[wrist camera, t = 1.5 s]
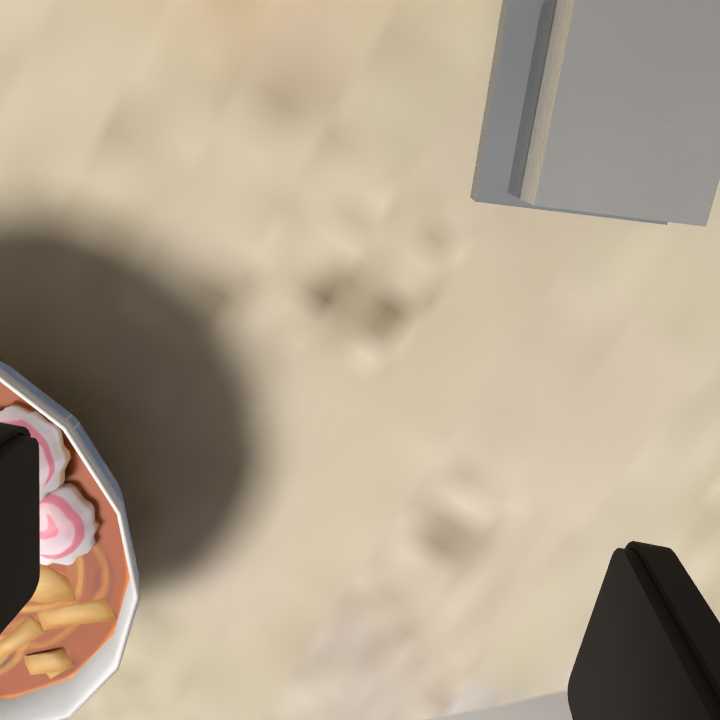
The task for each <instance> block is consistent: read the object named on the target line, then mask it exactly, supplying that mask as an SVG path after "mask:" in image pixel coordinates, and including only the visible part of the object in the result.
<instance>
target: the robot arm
mask: <svg viewBox="0 0 720 720" xmlns="http://www.w3.org/2000/svg"><path fill="white" fill-rule="evenodd" d="M39 579H40V484H39V443H38V441H37V439H36V438H33V437H31V434H30V432H29V430H28V429H27V428H26V427H23V426H18V425H13V424H7V423H2V422H0V634H1V633H2V632H3V631H4V629H5V628H6V627H7V626H8V625H9V624H10V622H11V621H12V620H13V619H14V618H15V617H16V615H17V614H18V613H19V612H20V611H21V610H22V609H23V607H24V606H25V605H26V604H27V603H28V602H29V600H30V599H31V598H32V596H33V595H34V593H35V591H36V588H37V586H38V583H39ZM568 702H569V706H570V710H571V714H572V718H573V720H720V623H719V621H718V620H717V618H716V616H715V615H714V613H713V612H712V610H711V609H710V607H709V606H708V604H707V602H706V601H705V599H704V598H703V596H702V595H701V593H700V592H699V590H698V588H697V587H696V585H695V584H694V582H693V581H692V579H691V578H690V576H689V575H688V573H687V571H686V570H685V568H684V567H683V565H682V564H681V562H680V561H679V559H678V557H677V556H676V554H675V553H674V552H673V551H672V550H671V549H670V548H667V547H662V546H657V545H651V544H646V543H641V542H635V541H632V542H629V543H628V545H627V546H626V547H625V549H622V548H617V549H616V550H615V551H614V553H613V555H612V557H611V560H610V563H609V566H608V569H607V572H606V575H605V578H604V580H603V583H602V586H601V589H600V592H599V595H598V598H597V601H596V603H595V606H594V609H593V612H592V615H591V618H590V621H589V624H588V626H587V629H586V632H585V635H584V638H583V641H582V644H581V647H580V649H579V652H578V655H577V658H576V661H575V664H574V667H573V670H572V672H571V675H570V679H569V683H568Z"/></svg>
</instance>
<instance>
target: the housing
mask: <svg viewBox="0 0 720 720" xmlns="http://www.w3.org/2000/svg"><path fill="white" fill-rule="evenodd" d="M719 179H720V0H546V1H545V2H544V3H543V4H542V6H541V11H540V16H539V21H538V27H537V32H536V38H535V43H534V49H533V54H532V60H531V65H530V71H529V76H528V82H527V87H526V93H525V98H524V104H523V109H522V115H521V120H520V126H519V131H518V137H517V142H516V148H515V153H514V159H513V164H512V170H511V175H510V181H509V186H508V192H507V193H508V194H511V195H513V196H515V197H517V198H519V199H521V200H523V201H525V202H528V203H530V204H532V205H534V206H542V207H550V208H558V209H566V210H575V211H583V212H591V213H599V214H608V215H616V216H624V217H633V218H641V219H649V220H657V221H666V222H674V223H682V224H690V225H699V226H706V224H707V221H708V217H709V214H710V210H711V207H712V203H713V200H714V196H715V193H716V189H717V186H718V182H719Z"/></svg>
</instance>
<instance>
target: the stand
mask: <svg viewBox="0 0 720 720" xmlns="http://www.w3.org/2000/svg"><path fill="white" fill-rule="evenodd" d="M545 1H546V0H503V3H502V9H501V15H500V21H499V27H498V33H497V39H496V45H495V51H494V57H493V63H492V70H491V76H490V82H489V88H488V94H487V100H486V106H485V112H484V118H483V124H482V131H481V137H480V143H479V149H478V155H477V161H476V167H475V173H474V179H473V185H472V191H471V198H472V199H473V200H474V201H475V202H483V203H492V204H500V205H508V206H516V207H525V208H533V209H541V210H549V211H558V212H566V213H574V214H582V215H591V216H599V217H607V218H615V219H624V220H632V221H640V222H648V223H657V224H665V225H667V222H666V221H657V220H649V219H641V218H633V217H624V216H616V215H608V214H599V213H591V212H583V211H575V210H566V209H558V208H550V207H542V206H534V205H532V204H530V203H528V202H525V201H523V200H521V199H519V198H517V197H515V196H513V195H511V194H508V193H507V192H508V186H509V181H510V175H511V170H512V164H513V159H514V153H515V148H516V142H517V137H518V131H519V126H520V120H521V115H522V109H523V104H524V98H525V93H526V87H527V82H528V76H529V71H530V65H531V60H532V54H533V49H534V43H535V38H536V32H537V27H538V21H539V16H540V11H541V6H542V4H543V3H544V2H545Z"/></svg>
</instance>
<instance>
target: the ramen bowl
mask: <svg viewBox="0 0 720 720" xmlns="http://www.w3.org/2000/svg"><path fill="white" fill-rule="evenodd" d="M0 422H2V423H7V424H13V425H18V426H23V427H26V428H27V429H28V430H29V432H30V434H31V437H33V438H36V439H37V441H38V443H39V484H40V579H39V583H38V586H37V588H36V591H35V593H34V595H33V596H32V598H31V599H30V600H29V602H28V603H27V604H26V605H25V606H24V607H23V609H22V610H21V611H20V612H19V613H18V614H17V615H16V617H15V618H14V619H13V620H12V621H11V622H10V624H9V625H8V626H7V627H6V628H5V629H4V631H3V632H2V633H1V634H0V720H65V719H68V718H70V717H71V716H72V715H73V714H74V713H75V712H76V711H77V710H78V709H79V708H80V707H81V706H82V705H83V704H84V703H85V702H86V701H87V700H88V699H89V698H90V697H91V696H92V695H93V694H94V693H95V692H96V691H97V690H98V689H99V688H100V687H101V686H102V685H103V684H104V683H105V682H106V681H107V680H108V679H109V678H110V677H111V676H112V675H113V674H114V673H115V672H116V671H117V670H118V669H119V666H120V663H121V659H122V656H123V653H124V649H125V646H126V643H127V639H128V636H129V633H130V629H131V626H132V623H133V619H134V616H135V612H136V609H137V606H138V602H139V599H140V593H139V573H138V568H137V563H136V558H135V553H134V548H133V543H132V538H131V533H130V528H129V523H128V518H127V514H126V509H125V504H124V499H123V495H122V492H121V489H120V487H119V484H118V482H117V481H116V479H115V478H114V476H113V475H112V473H111V471H110V470H109V468H108V467H107V465H106V463H105V462H104V460H103V459H102V457H101V456H100V454H99V452H98V451H97V449H96V448H95V446H94V445H93V443H92V441H91V440H90V438H89V437H88V435H87V433H86V432H85V430H84V429H83V427H82V426H81V424H80V422H79V421H78V419H77V418H76V417H75V416H73V415H72V414H71V413H70V412H68V411H67V410H66V409H64V408H63V407H62V406H61V405H59V404H58V403H57V402H55V401H54V400H53V399H52V398H50V397H49V396H48V395H47V394H45V393H44V392H43V391H41V390H40V389H39V388H38V387H36V386H35V385H34V384H32V383H31V382H30V381H29V380H27V379H26V378H25V377H23V376H22V375H21V374H20V373H18V372H17V371H16V370H14V369H13V368H12V367H11V366H9V365H7V364H5V363H3V362H1V361H0Z"/></svg>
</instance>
